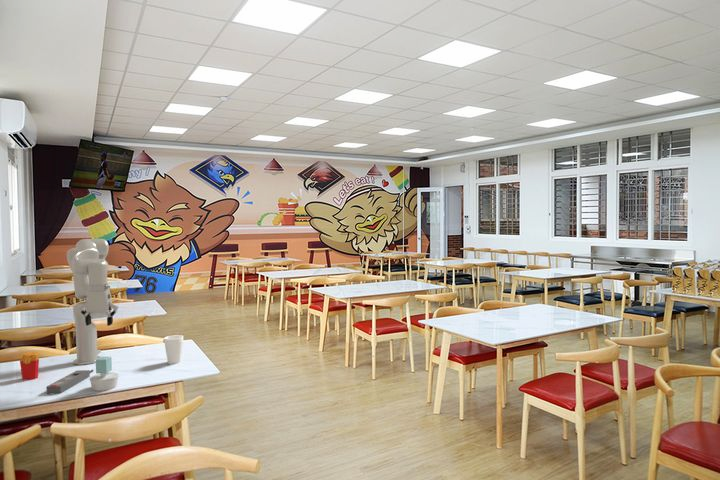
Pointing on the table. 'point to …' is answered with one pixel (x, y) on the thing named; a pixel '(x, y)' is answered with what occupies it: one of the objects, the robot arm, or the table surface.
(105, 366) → the block
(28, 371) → the french fries
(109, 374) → the ramekin
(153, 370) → the table surface
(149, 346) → the table surface
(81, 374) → the power strip
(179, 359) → the foam cup
